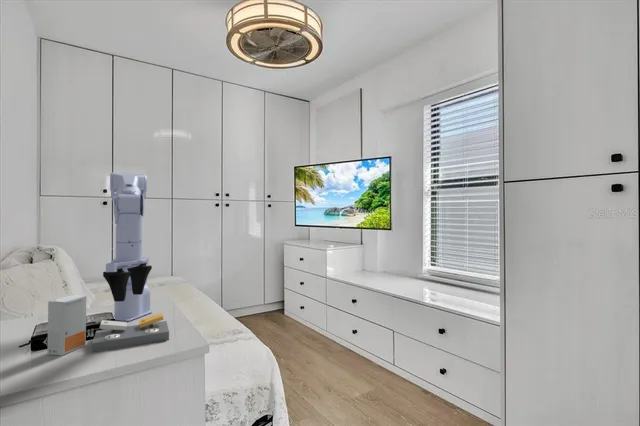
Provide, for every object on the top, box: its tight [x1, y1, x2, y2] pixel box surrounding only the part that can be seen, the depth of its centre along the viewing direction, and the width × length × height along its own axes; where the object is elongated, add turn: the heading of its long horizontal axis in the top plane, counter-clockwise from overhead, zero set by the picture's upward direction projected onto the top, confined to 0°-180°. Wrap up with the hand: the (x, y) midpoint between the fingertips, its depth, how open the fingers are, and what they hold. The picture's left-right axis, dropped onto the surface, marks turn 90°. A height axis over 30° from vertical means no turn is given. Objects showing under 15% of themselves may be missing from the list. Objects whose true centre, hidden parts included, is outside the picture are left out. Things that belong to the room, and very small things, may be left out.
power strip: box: [91, 320, 170, 353], centre depth 83 cm, size 16×9×3 cm, turn 119°
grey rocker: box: [99, 319, 128, 330], centre depth 83 cm, size 6×3×1 cm, turn 119°
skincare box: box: [47, 294, 87, 356], centre depth 76 cm, size 6×4×12 cm
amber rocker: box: [138, 312, 164, 328], centre depth 87 cm, size 6×3×1 cm, turn 118°
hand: (129, 297), depth 82 cm, fingers open, 7 cm apart
